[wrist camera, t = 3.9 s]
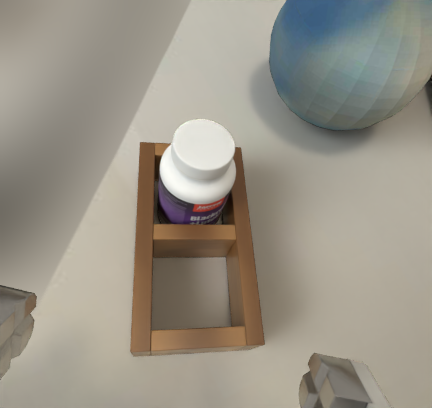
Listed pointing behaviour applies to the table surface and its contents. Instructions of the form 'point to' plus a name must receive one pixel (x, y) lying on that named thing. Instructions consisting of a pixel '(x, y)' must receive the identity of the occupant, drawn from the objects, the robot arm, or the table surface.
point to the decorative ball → (351, 58)
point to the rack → (194, 247)
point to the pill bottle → (196, 174)
